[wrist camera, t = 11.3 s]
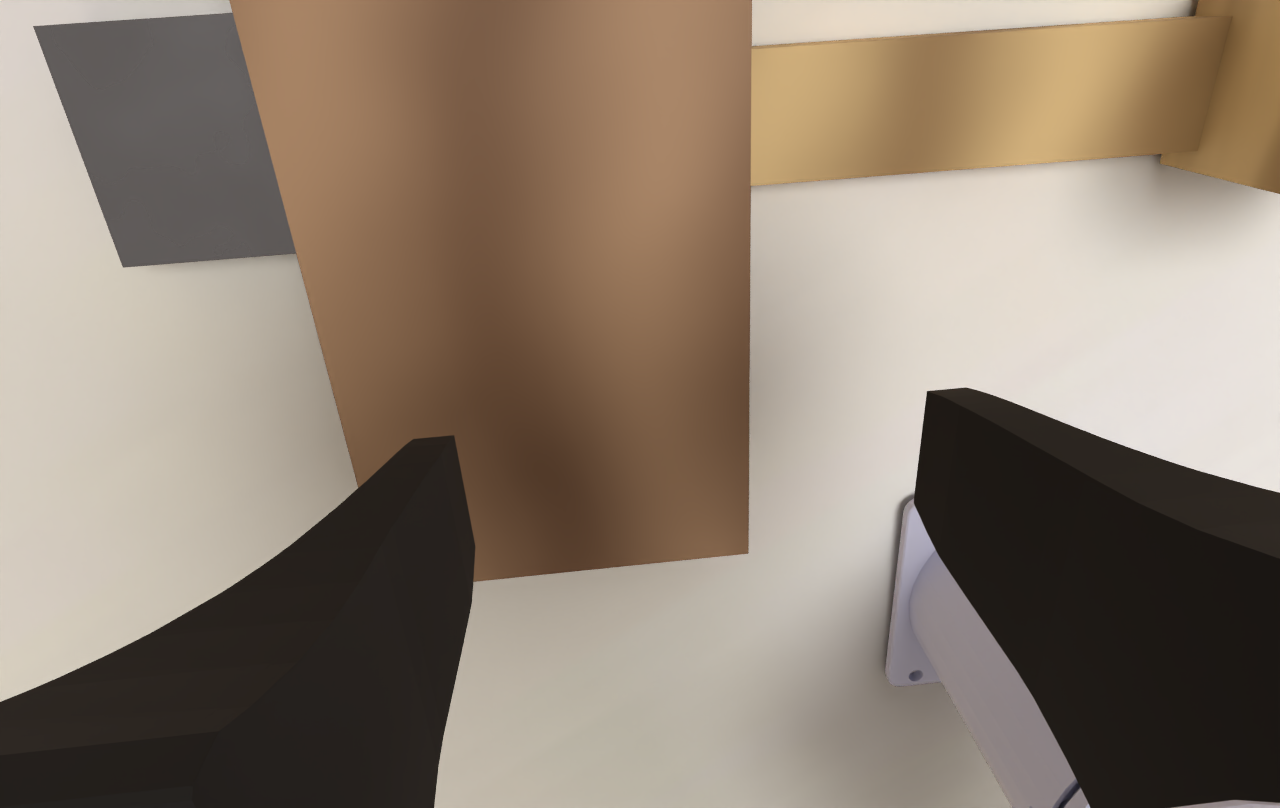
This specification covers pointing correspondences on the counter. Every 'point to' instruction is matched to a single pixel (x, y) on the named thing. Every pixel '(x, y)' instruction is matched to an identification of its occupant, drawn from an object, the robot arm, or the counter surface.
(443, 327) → the shelf
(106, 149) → the plate
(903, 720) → the counter surface
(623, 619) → the counter surface
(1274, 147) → the tool
